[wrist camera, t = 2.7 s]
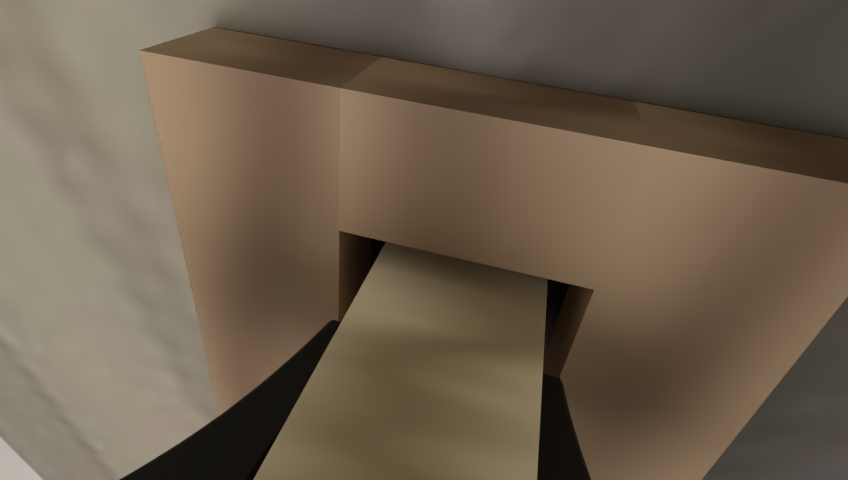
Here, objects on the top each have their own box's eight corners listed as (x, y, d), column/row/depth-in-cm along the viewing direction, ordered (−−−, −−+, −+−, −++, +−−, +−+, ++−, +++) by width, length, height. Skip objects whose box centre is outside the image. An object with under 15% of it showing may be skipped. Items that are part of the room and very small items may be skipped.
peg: (549, 245, 13) (530, 587, 6) (516, 351, 15) (478, 681, 9) (401, 213, 13) (244, 496, 7) (391, 319, 16) (266, 607, 9)
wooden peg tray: (850, 139, 10) (937, 207, 7) (554, 599, 23) (553, 674, 21) (214, 27, 12) (128, 54, 9) (277, 510, 25) (247, 570, 22)
